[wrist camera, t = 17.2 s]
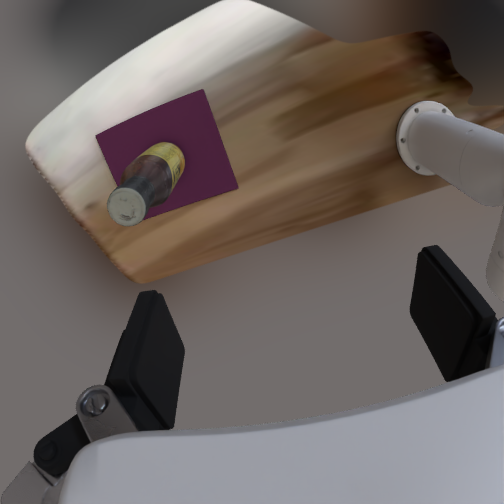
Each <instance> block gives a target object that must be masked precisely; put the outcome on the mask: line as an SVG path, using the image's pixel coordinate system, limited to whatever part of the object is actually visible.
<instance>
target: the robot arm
mask: <svg viewBox="0 0 504 504" xmlns="http://www.w3.org/2000/svg"><path fill="white" fill-rule="evenodd" d="M414 110H415V111H414ZM401 139H402V140H401ZM396 142H397V148H398V151H399V154H400V156H401V158H402V160H403V162H404V163H405V164H406V165H407V166H408V167H409V168H410V169H412V170H413V171H415V172H416V173H419V174H422V175H435V174H437V175H438V176H440V177H441V178H443V179H444V180H446V181H447V182H449V183H450V184H452V185H453V186H455V187H456V188H458V189H459V190H460V191H462V192H464V193H465V194H466V195H468V196H469V197H471V198H472V199H473V200H475V201H477V202H478V203H480V204H482V205H485V206H492V207H495V206H503V205H504V135H503V134H501V133H498V132H495V131H493V130H490V129H488V128H485V127H482V126H480V125H477V124H474V123H471V122H468V121H465V120H462V119H459V118H456V117H454V115H453V114H452V112H451V111H450V110H449V109H448V108H447V107H445V106H444V105H442V104H440V103H437V102H433V101H422V102H418V103H416V104H414V105H412V106H411V107H410V108H408V109H407V110H406V112H405V113H404V114H403V116H402V118H401V119H400V122H399V124H398V128H397V134H396ZM486 279H487V283H488V285H489V287H490V289H491V291H492V292H493V293H494V294H495V295H496V296H497V297H498V298H499V299H500V300H501V301H503V302H504V207H503V211H502V215H501V220H500V224H499V228H498V231H497V234H496V237H495V241H494V244H493V247H492V250H491V253H490V257H489V260H488V263H487V268H486ZM410 314H411V317H412V319H413V321H414V323H415V324H416V326H417V328H418V330H419V331H420V333H421V335H422V337H423V339H424V341H425V343H426V344H427V346H428V348H429V350H430V352H431V354H432V356H433V357H434V359H435V362H436V363H437V365H438V367H439V369H440V371H441V373H442V375H443V377H444V379H445V381H446V382H448V383H445V384H442V385H439V386H436V387H433V388H430V389H427V390H424V391H420V392H417V393H413V394H410V395H406V396H403V397H400V398H396V399H392V400H388V401H384V402H381V403H376V404H372V405H368V406H364V407H360V408H355V409H351V410H346V411H341V412H336V413H331V414H326V415H320V416H315V417H309V418H302V419H296V420H289V421H282V422H274V423H267V424H258V425H248V426H236V427H223V428H208V429H187V430H170V429H172V428H173V427H174V423H175V415H176V408H177V401H178V394H179V387H180V380H181V374H182V367H183V361H184V354H185V349H184V345H183V343H182V340H181V338H180V335H179V333H178V331H177V328H176V326H175V324H174V322H173V319H172V317H171V314H170V312H169V310H168V307H167V305H166V302H165V300H164V297H163V295H162V294H160V293H159V294H158V293H157V291H156V290H152V291H143V292H140V293H139V295H138V298H137V300H136V303H135V306H134V308H133V311H132V313H131V316H130V318H129V321H128V324H127V327H126V329H125V330H124V331H123V333H122V336H121V338H120V341H119V343H118V346H117V349H116V352H115V355H114V358H113V361H112V363H111V366H110V369H109V372H108V375H107V378H106V382H105V384H104V385H94V386H91V387H89V388H87V389H86V390H85V391H84V392H82V394H81V395H80V396H79V398H78V400H77V402H76V411H77V414H76V415H75V416H73V417H72V418H71V419H69V420H68V421H66V422H65V423H63V424H62V425H61V426H59V427H58V428H56V429H55V430H53V431H52V432H50V433H49V434H47V435H46V436H45V437H43V438H42V439H41V440H40V441H39V442H38V443H37V445H36V447H35V449H34V462H33V463H31V462H30V461H29V462H28V463H27V465H26V466H25V467H24V468H23V469H22V470H21V472H20V473H19V474H18V475H17V476H16V477H15V479H14V480H13V481H12V482H11V484H10V485H9V486H8V487H7V489H6V490H5V491H4V492H3V494H2V497H1V504H504V317H502V318H501V319H499V320H497V318H496V317H495V314H496V313H495V312H494V311H493V309H492V308H491V307H490V306H489V304H488V303H487V302H486V300H485V299H484V298H483V297H482V296H481V294H480V293H479V292H478V291H477V289H476V288H475V287H474V286H473V285H472V283H471V282H470V281H469V280H468V279H467V277H466V276H465V275H464V274H463V273H462V272H461V270H460V269H459V268H458V267H457V266H456V265H455V264H454V263H453V261H452V260H451V259H450V258H449V257H448V256H447V255H446V254H445V252H444V251H443V250H442V249H441V248H440V247H439V246H438V245H434V246H428V247H424V248H423V249H422V251H421V252H419V253H418V258H417V265H416V273H415V279H414V286H413V292H412V298H411V304H410Z"/></svg>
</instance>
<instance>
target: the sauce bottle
mask: <svg viewBox="0 0 504 504" xmlns="http://www.w3.org/2000/svg"><path fill="white" fill-rule="evenodd" d="M184 167H185V158H184V155H183V153H182V151H181V149H180V148H179V147H178V146H177V145H175V144H172V143H168V142H160V143H158V144H155V145H153V146H152V147H150V148H149V149H148V150H146V151H145V152H144V153H142V154H141V155H140V156H138V157H137V158H136V159H135V160H133V161H132V162H131V164H130V165H128V166H127V167H126V168H125V170H124V172H123V173H122V176H121V179H120V186H118V187H117V188H116V189H115V190H114V191H113V192H112V193H111V195H110V196H109V199H108V202H107V209H108V212H109V214H110V216H111V218H112V219H113V220H114V221H115V222H116V223H118V224H120V225H122V226H134V225H136V224H138V223H140V222H141V221H142V220H143V219H144V217H145V216H146V215H147V213H148V210H149V208H152V207H156V206H159V205H161V204H163V203H164V202H165V201H166V200H167V199H168V197H169V196H170V194H171V192H172V190H173V188H174V187H175V185H176V183H177V182H178V180H179V178H180V176H181V174H182V173H183V170H184Z"/></svg>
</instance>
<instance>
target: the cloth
mask: <svg viewBox="0 0 504 504" xmlns="http://www.w3.org/2000/svg"><path fill="white" fill-rule="evenodd" d="M96 138H97V141H98V143H99V146H100V148H101V150H102V153H103V155H104V157H105V160H106V162H107V164H108V166H109V169H110V171H111V173H112V175H113V177H114V180H115V182H116V184H117V186H120V179H121V176H122V173H123V172H124V170H125V168H126V167H127V166H128V165H130V164H131V162H132V161H133V160H135V159H136V158H137V157H138V156H140V155H141V154H142V153H144V152H145V151H146V150H148V149H149V148H150V147H152V146H153V145H155V144H158V143H160V142H168V143H172V144H175V145H177V146H178V147H179V148H180V149H181V151H182V153H183V155H184V158H185V167H184V170H183V173H182V174H181V176H180V178H179V180H178V182H177V183H176V185H175V187H174V188H173V190H172V192H171V194H170V196H169V197H168V199H167V200H166V201H165V202H164V203H163V204H161V205H159V206H156V207H152V208H149V210H148V213H147V215H146V216H145V217H144V219H143V220H145V219H148V218H151V217H154V216H156V215H159V214H162V213H165V212H168V211H171V210H174V209H176V208H179V207H182V206H185V205H188V204H191V203H194V202H197V201H200V200H203V199H206V198H209V197H212V196H216V195H219V194H222V193H225V192H228V191H231V190H235V189H238V185H237V182H236V179H235V177H234V174H233V171H232V168H231V165H230V163H229V160H228V157H227V154H226V151H225V148H224V146H223V143H222V140H221V137H220V134H219V132H218V129H217V126H216V123H215V120H214V118H213V115H212V112H211V109H210V107H209V104H208V101H207V98H206V95H205V93H204V90H203V89H202V90H199V91H196V92H193V93H191V94H188V95H185V96H183V97H180V98H178V99H175V100H173V101H170V102H168V103H165V104H163V105H160V106H158V107H155V108H153V109H151V110H148V111H146V112H144V113H142V114H139V115H137V116H135V117H133V118H130V119H128V120H126V121H124V122H122V123H120V124H118V125H116V126H114V127H112V128H110V129H107V130H105V131H103V132H102V133H100V134H98V135H96Z"/></svg>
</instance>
